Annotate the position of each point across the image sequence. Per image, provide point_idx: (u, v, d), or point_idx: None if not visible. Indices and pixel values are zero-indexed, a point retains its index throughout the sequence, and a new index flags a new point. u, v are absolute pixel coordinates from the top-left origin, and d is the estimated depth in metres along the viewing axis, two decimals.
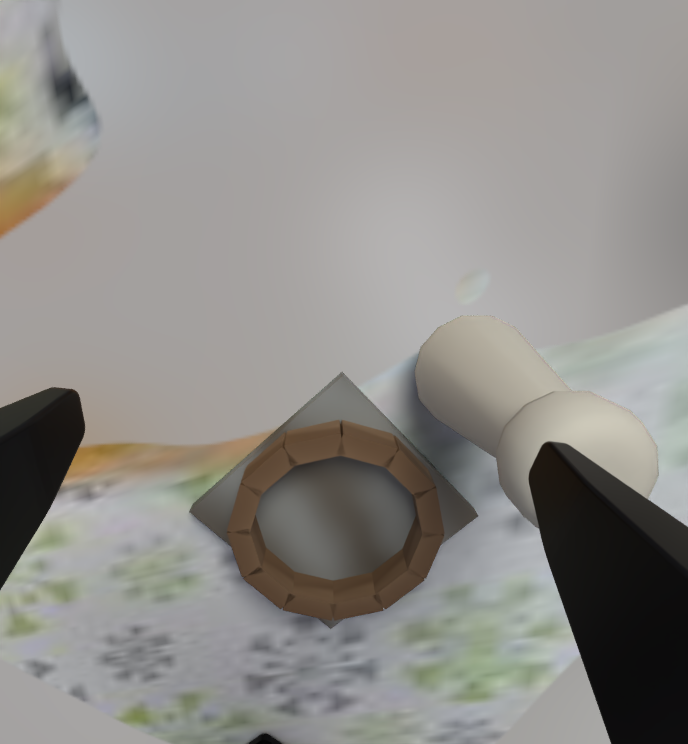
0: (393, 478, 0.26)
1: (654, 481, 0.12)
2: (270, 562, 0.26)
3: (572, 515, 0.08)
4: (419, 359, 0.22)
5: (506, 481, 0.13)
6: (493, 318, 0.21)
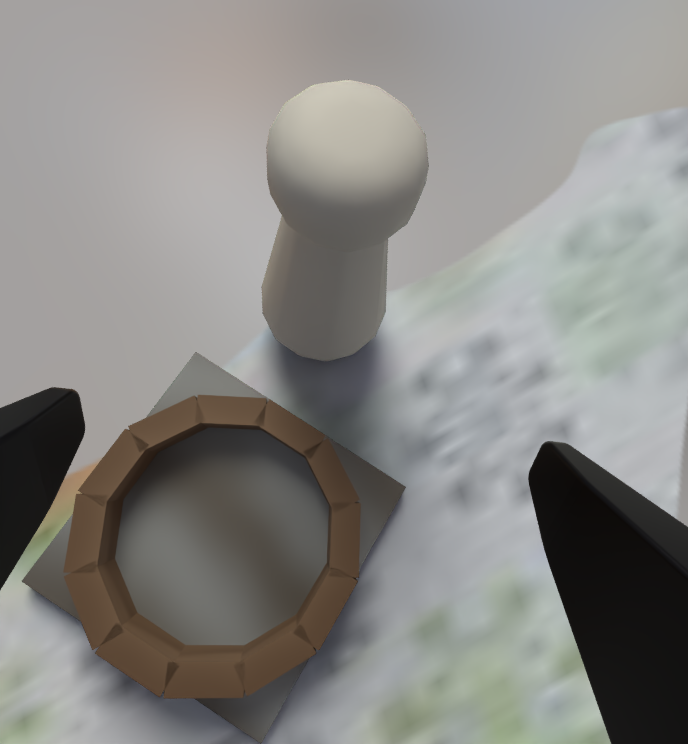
0: (285, 461, 0.21)
1: (415, 126, 0.11)
2: (141, 625, 0.18)
3: (572, 515, 0.08)
4: (262, 296, 0.21)
5: (275, 189, 0.12)
6: None
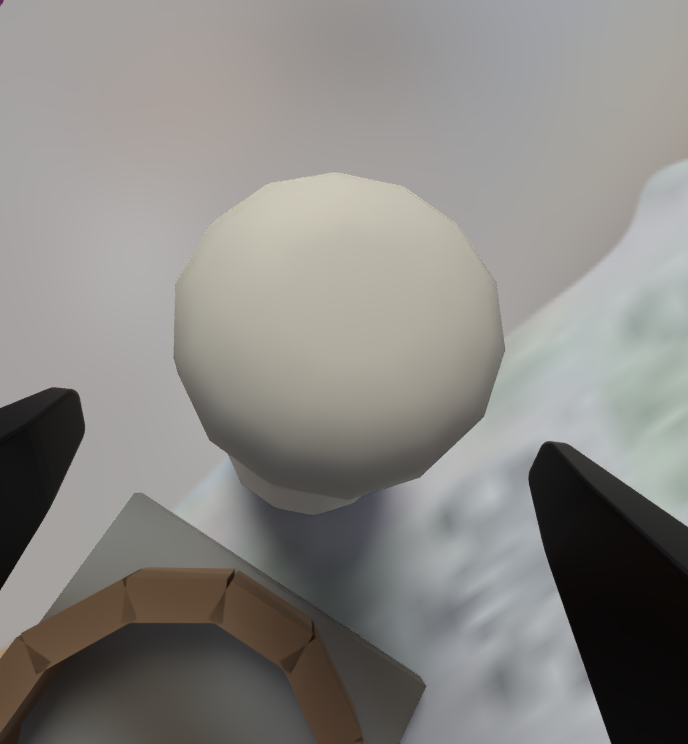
0: (257, 654, 0.15)
1: (480, 275, 0.06)
2: None
3: (572, 515, 0.08)
4: None
5: None
6: None
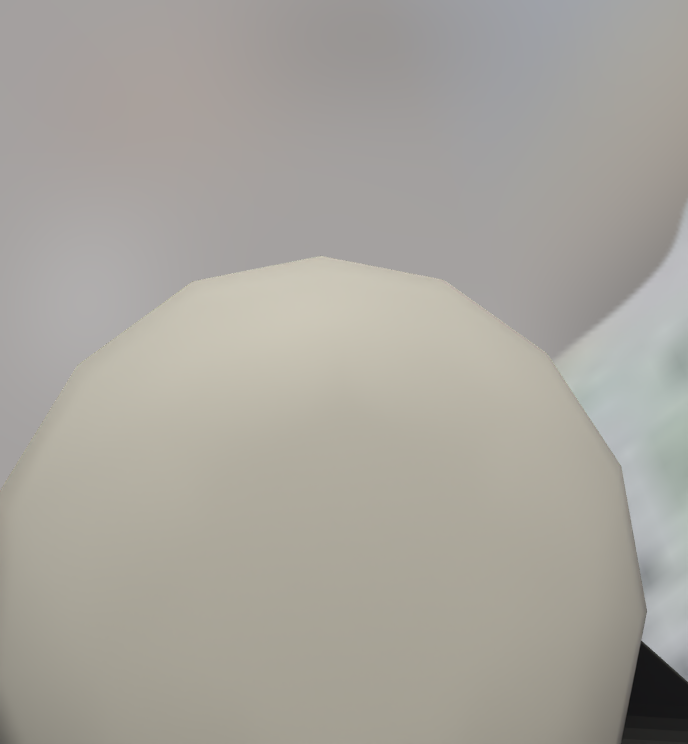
0: None
1: (607, 480, 0.03)
2: None
3: None
4: None
5: None
6: None
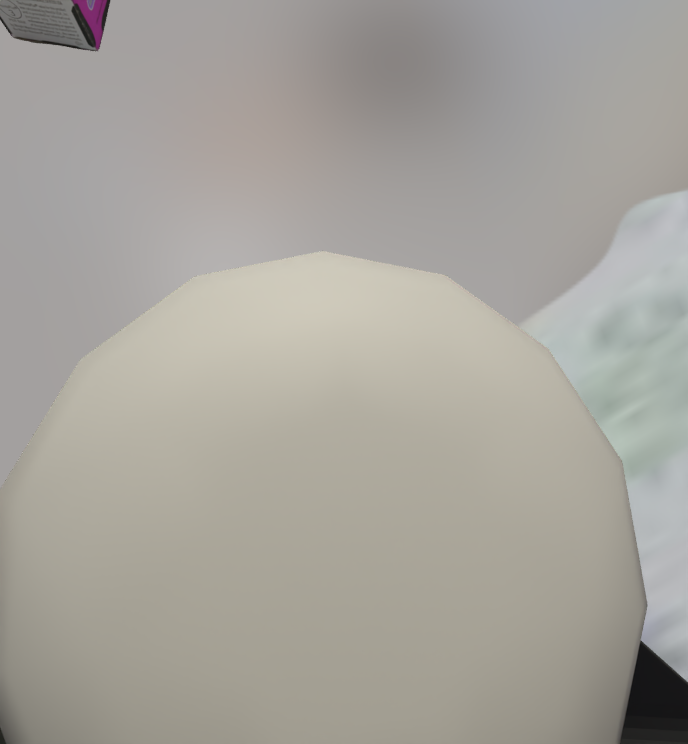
0: None
1: (610, 475, 0.03)
2: None
3: None
4: None
5: None
6: None
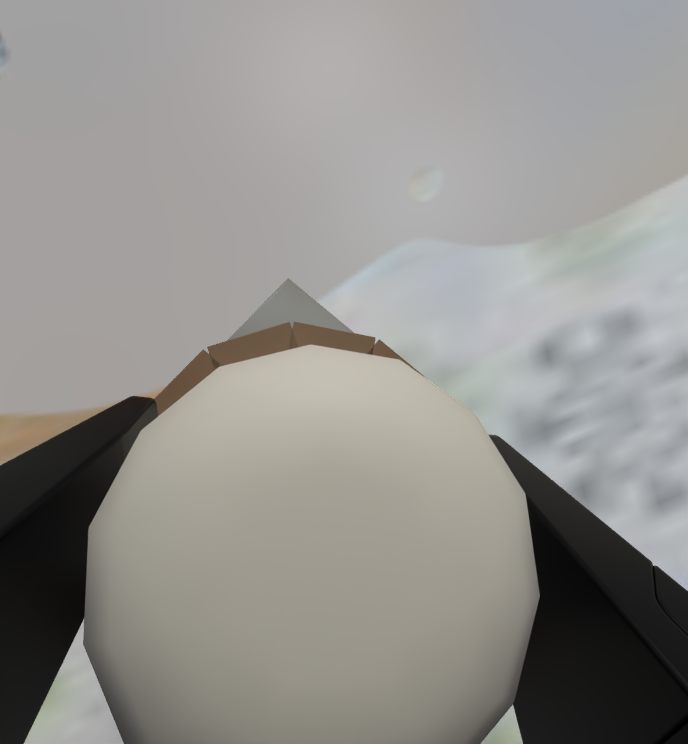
0: None
1: (507, 507, 0.04)
2: None
3: None
4: None
5: None
6: None
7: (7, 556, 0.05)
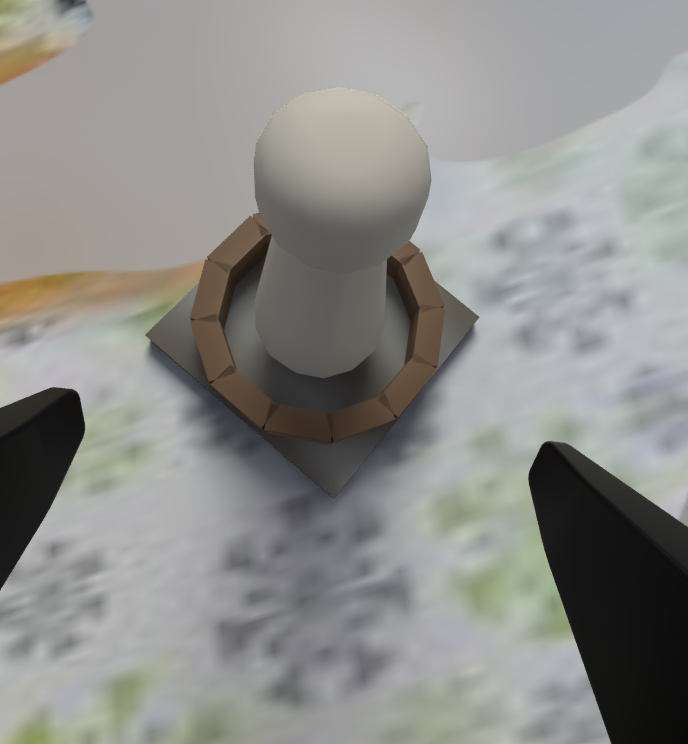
0: None
1: (416, 138, 0.10)
2: None
3: (572, 515, 0.08)
4: (255, 310, 0.20)
5: (264, 208, 0.11)
6: None
7: None
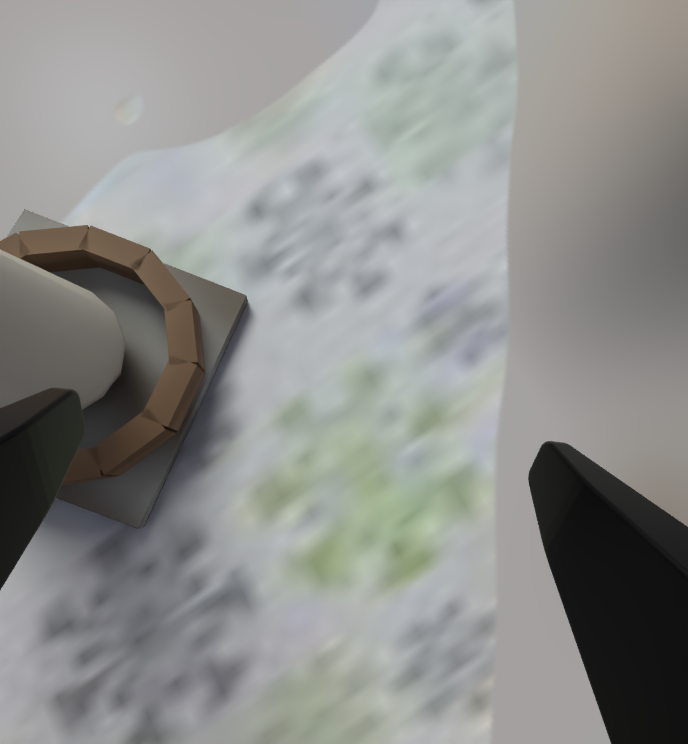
0: (127, 290, 0.22)
1: None
2: None
3: (572, 515, 0.08)
4: None
5: None
6: None
7: None
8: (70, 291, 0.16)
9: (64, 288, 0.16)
